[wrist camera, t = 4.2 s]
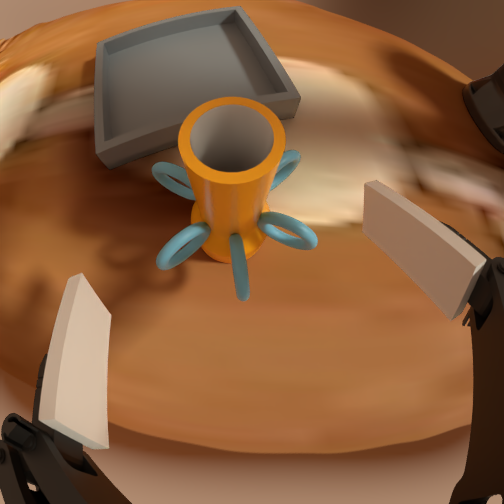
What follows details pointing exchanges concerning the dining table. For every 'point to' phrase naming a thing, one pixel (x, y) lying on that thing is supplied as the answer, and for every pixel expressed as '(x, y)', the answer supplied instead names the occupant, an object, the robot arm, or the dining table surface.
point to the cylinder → (231, 185)
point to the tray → (180, 79)
